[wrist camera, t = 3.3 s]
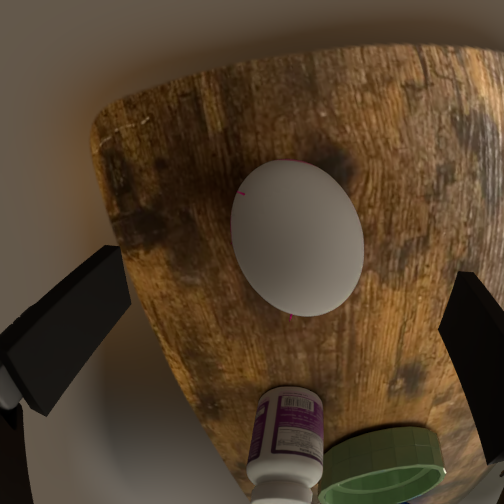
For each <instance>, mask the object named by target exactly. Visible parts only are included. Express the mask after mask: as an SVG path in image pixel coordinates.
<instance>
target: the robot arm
mask: <svg viewBox="0 0 504 504" xmlns="http://www.w3.org/2000/svg"><path fill="white" fill-rule="evenodd" d="M130 305H131V299H130V295H129V291H128V285H127V282H126V276H125V271H124V266H123V261H122V255H121V250H120V246H110V245H104V246H103V247H102V248H101V249H99V250H98V251H97V252H96V253H94V254H93V255H92V256H91V257H90V258H88V259H87V260H86V261H84V262H83V263H82V264H81V265H80V266H78V267H77V268H76V269H75V270H74V271H72V272H71V273H70V274H69V275H68V276H66V277H65V278H64V279H63V280H62V281H60V282H59V283H58V284H57V285H56V286H55V287H54V288H53V289H51V290H50V291H49V292H48V293H47V294H46V295H44V296H43V297H42V298H41V299H40V300H39V301H38V302H37V303H35V304H34V305H32V306H30V307H29V308H28V309H27V310H25V311H24V312H23V313H22V314H21V315H20V317H18V318H17V319H16V320H15V321H14V322H13V324H11V325H9V326H8V327H7V328H6V329H5V330H4V331H3V332H2V333H1V334H0V504H34V503H33V499H32V493H31V487H30V481H29V475H28V468H27V460H26V451H25V442H24V428H23V427H24V426H23V410H22V406H21V404H20V403H19V401H20V400H21V399H22V398H24V399H25V401H26V402H27V404H28V405H29V407H30V408H31V409H33V410H35V411H36V412H38V413H40V414H42V415H44V416H46V417H47V416H48V414H49V413H50V411H51V410H52V408H53V407H54V406H55V404H56V403H57V401H58V400H59V399H60V397H61V396H62V394H63V393H64V391H65V390H66V389H67V387H68V386H69V384H70V383H71V382H72V381H73V379H74V378H75V376H76V375H77V374H78V372H79V371H80V370H81V368H82V367H83V366H84V364H85V363H86V361H87V360H88V359H89V357H90V356H91V355H92V353H93V352H94V351H95V350H96V348H97V347H98V346H99V345H100V343H101V342H102V341H103V339H104V338H105V337H106V335H107V334H108V333H109V332H110V330H111V329H112V328H113V326H114V325H115V324H116V323H117V321H118V320H119V319H120V318H121V316H122V315H123V314H124V313H125V311H126V310H127V309H128V308H129V306H130ZM438 331H439V333H440V335H441V337H442V340H443V342H444V344H445V346H446V349H447V351H448V353H449V356H450V358H451V360H452V363H453V365H454V368H455V370H456V373H457V375H458V378H459V380H460V383H461V385H462V388H463V391H464V393H465V396H466V399H467V401H468V404H469V407H470V410H471V413H472V416H473V419H474V422H475V425H476V428H477V431H478V434H479V438H480V441H481V444H482V448H483V451H484V455H485V458H486V462H487V465H491V464H494V463H498V462H501V461H504V311H503V310H502V308H501V307H500V306H499V304H498V303H497V302H496V300H495V299H494V298H493V296H492V295H491V294H490V292H489V291H488V290H487V289H486V287H485V286H484V285H483V284H482V282H481V281H480V280H479V279H478V277H477V276H476V275H475V274H474V272H462V271H458V273H457V277H456V280H455V283H454V286H453V289H452V292H451V295H450V298H449V301H448V304H447V307H446V309H445V312H444V315H443V318H442V320H441V323H440V325H439V328H438ZM502 476H504V470H503V471H502V472H501V474H500V477H502ZM497 504H504V488H503V490H502V493H501V495H500V497H499V499H498V502H497Z"/></svg>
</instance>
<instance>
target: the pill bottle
mask: <svg viewBox="0 0 504 504" xmlns="http://www.w3.org/2000/svg"><path fill="white" fill-rule="evenodd" d="M322 472H323V405H322V401H321V399H320V398H319V397H318V396H317V394H315V393H314V392H312V391H310V390H308V389H305V388H301V387H278V388H275V389H272V390H270V391H268V392H266V393H265V394H264V395H263V396H262V397H261V398H260V400H259V403H258V407H257V413H256V418H255V423H254V428H253V434H252V440H251V446H250V451H249V457H248V463H247V475H248V478H249V479H250V480H251V482H252V483H253V484H255V485H256V486H255V487H254V489H253V490H252V496H251V504H311V501H312V492H311V489H310V488H311V487H313V486H314V485H315V484H317V483H318V481H319V480H320V478H321V476H322Z"/></svg>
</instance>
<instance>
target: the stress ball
mask: <svg viewBox="0 0 504 504" xmlns="http://www.w3.org/2000/svg"><path fill="white" fill-rule="evenodd" d="M236 192H237V193H236V196H235V199H234V202H233V206H232V211H231V223H230V226H231V238H232V244H233V248H234V252H235V255H236V258H237V261H238V263H239V265H240V268H241V270H242V272H243V273H244V275H245V277H246V278H247V280H248V281H249V283H250V284H251V286H252V287H253V288H254V289H255V290H256V291H257V292H258V294H259V295H260V296H262V297H263V298H264V299H265V300H266V301H267V302H269V303H270V304H271V305H273V306H275V307H276V308H278V309H280V310H282V311H284V312H287V313H290V314H291V315H290V319H291V317H292V314H294V315H298V316H317V315H321V314H325V313H327V312H329V311H332V310H334V309H335V308H337V307H338V306H339V305H341V304H342V303H343V302H344V301H345V300H346V299H347V298H348V297H349V296H350V294H351V293H352V291H353V290H354V288H355V286H356V284H357V282H358V280H359V277H360V274H361V270H362V266H363V259H364V240H363V233H362V228H361V224H360V221H359V218H358V215H357V212H356V210H355V208H354V206H353V204H352V202H351V200H350V199H349V197H348V196H347V194H346V193H345V191H344V190H343V189H342V187H341V186H340V185H339V184H338V183H337V182H336V181H335V180H334V179H333V178H332V177H331V176H330V175H328V174H327V173H326V172H324V171H323V170H321V169H320V168H318V167H316V166H314V165H312V164H310V163H307V162H304V161H300V160H295V159H278V160H273V161H270V162H267V163H265V164H263V165H261V166H259V167H258V168H256V169H255V170H253V171H252V172H251V173H250V174H249V175H248V176H247V177H246V178H245V180H244V181H243V183H242V184H241V186H240V187H239V189H238V191H236ZM230 244H231V243H230ZM289 322H290V320H289Z"/></svg>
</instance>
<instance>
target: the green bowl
mask: <svg viewBox="0 0 504 504" xmlns="http://www.w3.org/2000/svg"><path fill="white" fill-rule="evenodd" d="M445 475H446V469H445V464H444V459H443V454H442V450H441V446H440V441H439V438H438V436H437V434H436V433H435V432H433V431H431V430H429V429H426V428H419V427H398V428H389V429H384V430H379V431H374V432H370V433H366V434H363V435H360V436H357V437H354V438H351V439H348V440H346V441H344V442H342V443H340V444H338V445H336V446H334V447H332V448H331V449H330V450H329V451H328V452H326V453H325V454H324V455H323V472H322V476H321V478H320V480H319V481H318V499H319V501H320V503H321V504H399V503H403V502H406V501H409V500H411V499H413V498H416V497H418V496H421V495H423V494H424V493H426V492H428V491H430V490H431V489H433V488H434V487H436V486H437V485H438V484H439V483H440V482H441V481H442V480H443V479H444V477H445Z"/></svg>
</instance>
